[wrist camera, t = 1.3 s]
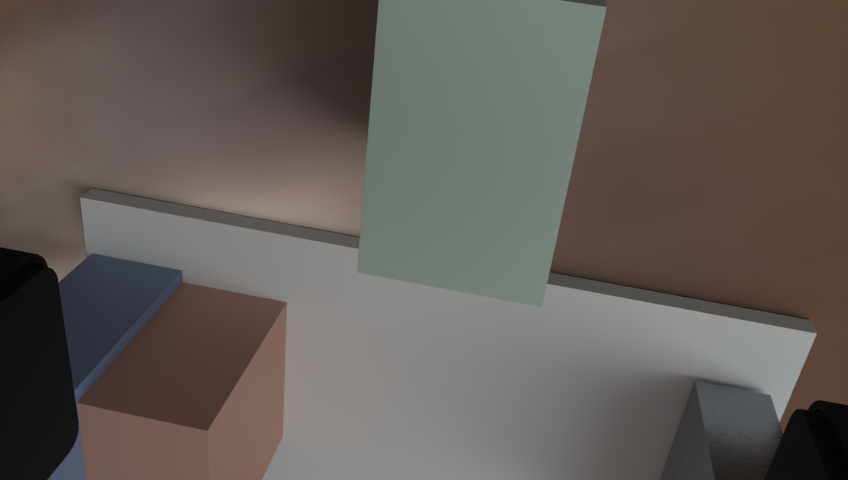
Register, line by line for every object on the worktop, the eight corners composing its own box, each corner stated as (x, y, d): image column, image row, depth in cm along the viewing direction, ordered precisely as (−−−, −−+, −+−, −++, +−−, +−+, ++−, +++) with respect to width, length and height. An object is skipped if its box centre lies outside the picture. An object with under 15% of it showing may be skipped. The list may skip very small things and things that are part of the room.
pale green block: (442, -73, 23) (380, -27, 16) (599, -51, 22) (607, 7, 15) (417, 152, 26) (357, 272, 19) (553, 176, 26) (541, 307, 19)
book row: (92, 253, 29) (-101, 422, 21) (287, 290, 29) (166, 481, 20) (108, 409, 33) (-51, 606, 25) (282, 446, 32) (178, 662, 24)
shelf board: (92, 188, 29) (79, 197, 28) (810, 320, 26) (816, 333, 26) (117, 435, 35) (107, 448, 34) (709, 564, 32) (712, 580, 31)
